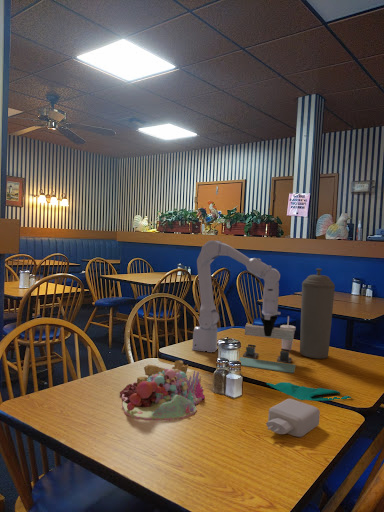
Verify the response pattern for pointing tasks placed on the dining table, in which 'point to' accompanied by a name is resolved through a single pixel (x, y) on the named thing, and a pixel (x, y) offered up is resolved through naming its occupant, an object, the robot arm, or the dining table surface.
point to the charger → (293, 418)
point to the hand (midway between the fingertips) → (268, 335)
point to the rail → (276, 333)
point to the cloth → (304, 391)
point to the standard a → (250, 351)
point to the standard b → (284, 356)
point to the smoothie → (287, 343)
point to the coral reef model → (162, 394)
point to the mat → (267, 365)
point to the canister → (316, 315)
